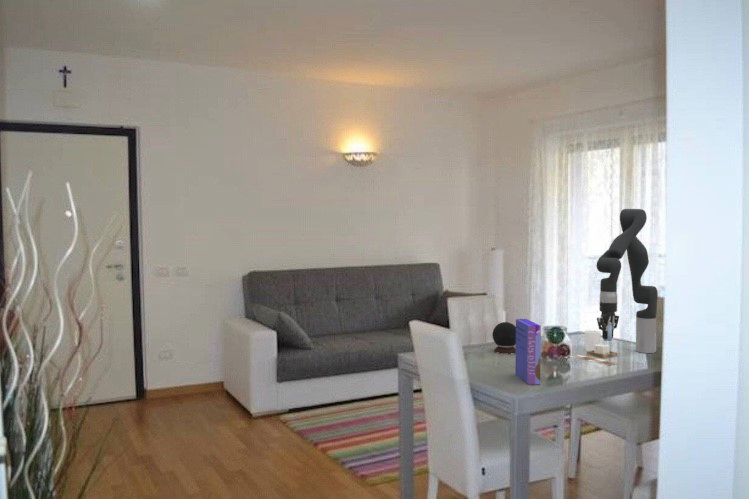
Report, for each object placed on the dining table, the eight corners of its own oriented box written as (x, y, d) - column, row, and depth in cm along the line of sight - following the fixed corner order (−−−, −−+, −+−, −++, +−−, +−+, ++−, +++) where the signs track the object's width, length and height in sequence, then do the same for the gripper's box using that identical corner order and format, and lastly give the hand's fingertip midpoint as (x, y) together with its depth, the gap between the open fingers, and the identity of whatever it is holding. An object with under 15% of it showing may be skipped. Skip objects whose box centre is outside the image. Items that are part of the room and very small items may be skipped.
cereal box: (540, 384, 251) (540, 325, 250) (528, 385, 250) (529, 325, 249) (526, 374, 268) (526, 318, 267) (515, 374, 268) (515, 318, 267)
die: (600, 354, 307) (600, 343, 306) (609, 355, 302) (609, 345, 302) (593, 355, 304) (594, 345, 304) (603, 357, 300) (603, 346, 299)
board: (577, 355, 305) (577, 354, 305) (617, 364, 287) (617, 362, 287) (568, 357, 301) (568, 356, 301) (607, 366, 283) (607, 364, 283)
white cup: (583, 352, 314) (583, 332, 314) (584, 349, 322) (584, 329, 321) (600, 353, 311) (600, 333, 311) (600, 350, 319) (600, 330, 318)
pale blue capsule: (607, 339, 289) (607, 319, 289) (613, 340, 286) (613, 320, 286) (601, 340, 288) (601, 319, 287) (608, 341, 284) (608, 320, 284)
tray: (599, 353, 310) (599, 349, 310) (617, 357, 302) (617, 352, 302) (586, 356, 304) (586, 351, 304) (604, 359, 296) (604, 355, 296)
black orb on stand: (524, 352, 314) (524, 322, 313) (506, 355, 306) (506, 325, 306) (505, 348, 325) (505, 319, 324) (486, 351, 317) (487, 321, 316)
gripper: (610, 299, 293) (610, 335, 294) (591, 301, 285) (591, 338, 286) (624, 300, 287) (624, 338, 288) (605, 303, 279) (605, 341, 280)
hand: (607, 338), depth 287 cm, fingers closed on pale blue capsule, 3 cm apart
